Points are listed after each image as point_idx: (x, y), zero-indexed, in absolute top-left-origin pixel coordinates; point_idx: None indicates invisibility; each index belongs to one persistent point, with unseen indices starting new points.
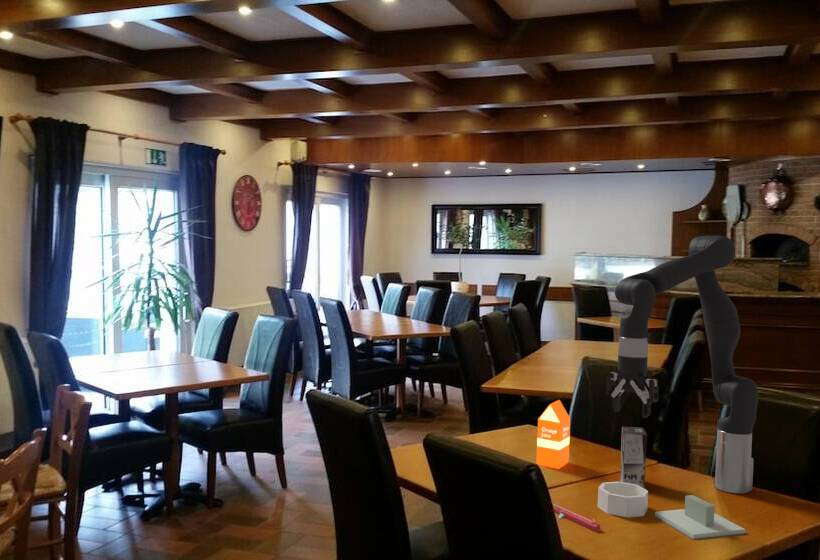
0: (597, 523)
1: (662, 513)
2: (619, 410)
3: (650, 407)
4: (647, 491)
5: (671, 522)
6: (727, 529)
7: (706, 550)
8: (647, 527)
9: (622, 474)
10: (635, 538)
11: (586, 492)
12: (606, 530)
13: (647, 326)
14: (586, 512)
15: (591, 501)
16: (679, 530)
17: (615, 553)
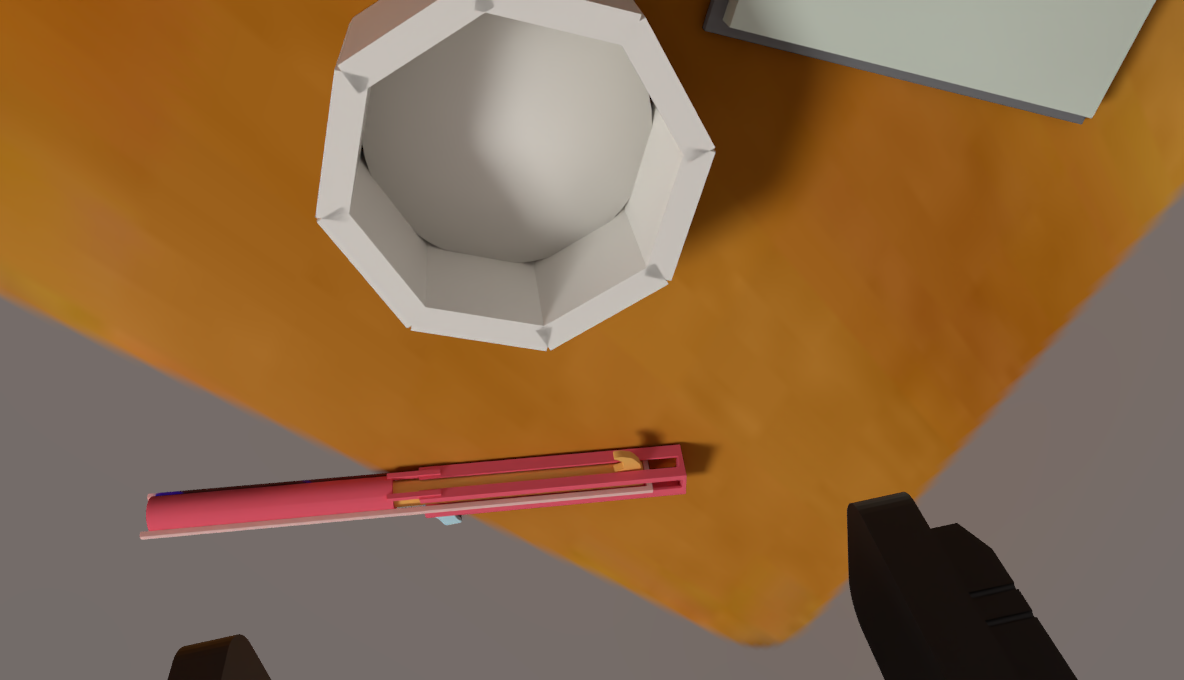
0: (675, 478)
1: (780, 3)
2: (244, 649)
3: (1062, 666)
4: (650, 32)
5: (899, 69)
6: None
7: (1176, 151)
8: (798, 200)
9: None
10: (848, 363)
11: (88, 105)
12: (697, 421)
13: None
14: (445, 358)
15: (286, 205)
16: None
17: None
